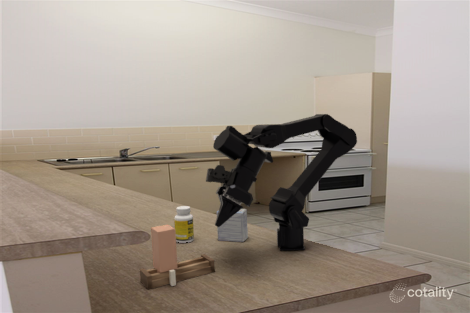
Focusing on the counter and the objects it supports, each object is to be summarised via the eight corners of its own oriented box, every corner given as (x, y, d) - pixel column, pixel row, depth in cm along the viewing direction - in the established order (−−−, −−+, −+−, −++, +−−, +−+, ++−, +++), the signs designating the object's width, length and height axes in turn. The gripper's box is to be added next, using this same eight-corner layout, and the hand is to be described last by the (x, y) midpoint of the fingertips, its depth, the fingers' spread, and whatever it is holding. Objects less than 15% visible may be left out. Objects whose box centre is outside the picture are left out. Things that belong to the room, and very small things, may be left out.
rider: (170, 266, 94) (167, 224, 93) (177, 272, 90) (175, 228, 89) (153, 270, 92) (150, 227, 91) (160, 277, 88) (157, 232, 87)
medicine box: (248, 237, 119) (247, 208, 118) (243, 242, 115) (242, 212, 114) (222, 236, 121) (221, 207, 120) (217, 240, 117) (216, 211, 116)
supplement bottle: (190, 243, 115) (189, 209, 114) (172, 243, 116) (170, 209, 115) (196, 237, 121) (194, 205, 120) (179, 237, 122) (177, 205, 121)
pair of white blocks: (162, 273, 95) (161, 259, 95) (176, 285, 88) (175, 270, 88) (158, 274, 94) (157, 260, 94) (171, 286, 88) (170, 271, 87)
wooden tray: (204, 264, 99) (204, 253, 99) (215, 272, 94) (214, 260, 94) (140, 281, 91) (139, 269, 91) (148, 289, 86) (147, 277, 86)
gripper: (213, 156, 109) (185, 208, 107) (224, 150, 91) (190, 212, 89) (249, 177, 111) (222, 228, 108) (267, 174, 92) (234, 236, 90)
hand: (216, 226), depth 99 cm, fingers closed
